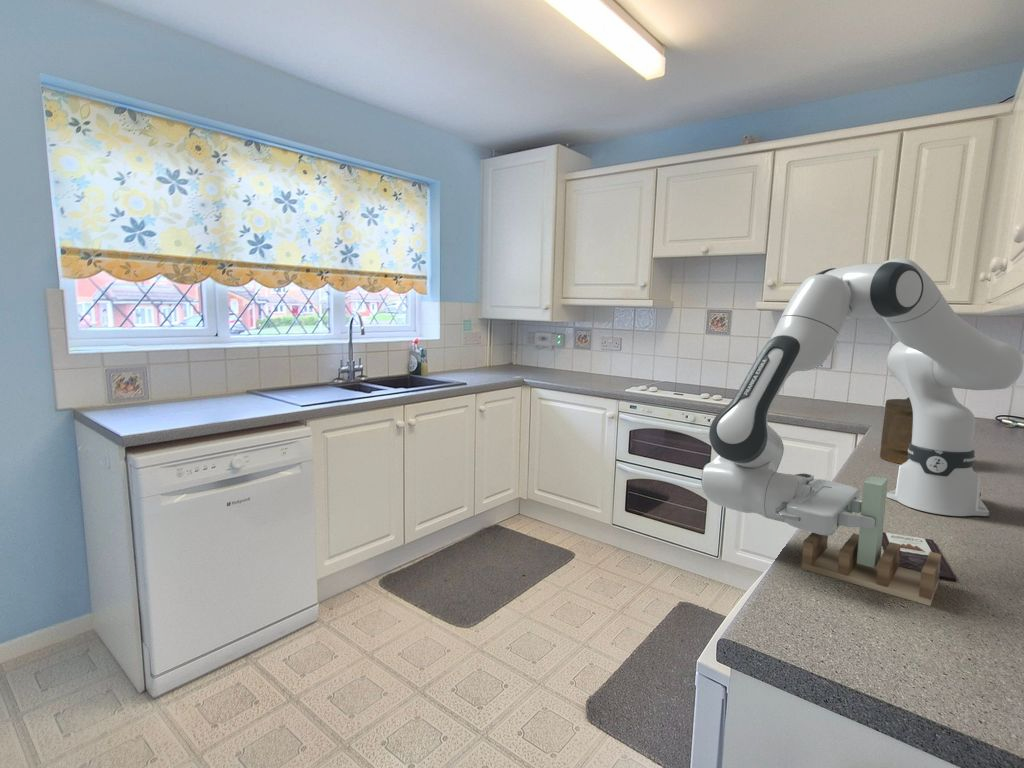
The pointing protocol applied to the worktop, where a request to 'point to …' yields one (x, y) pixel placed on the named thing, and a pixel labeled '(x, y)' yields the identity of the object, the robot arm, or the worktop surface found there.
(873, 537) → the tall mint green block
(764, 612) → the worktop surface
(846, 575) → the rack
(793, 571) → the worktop surface
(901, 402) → the wooden container
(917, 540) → the chocolate bar
